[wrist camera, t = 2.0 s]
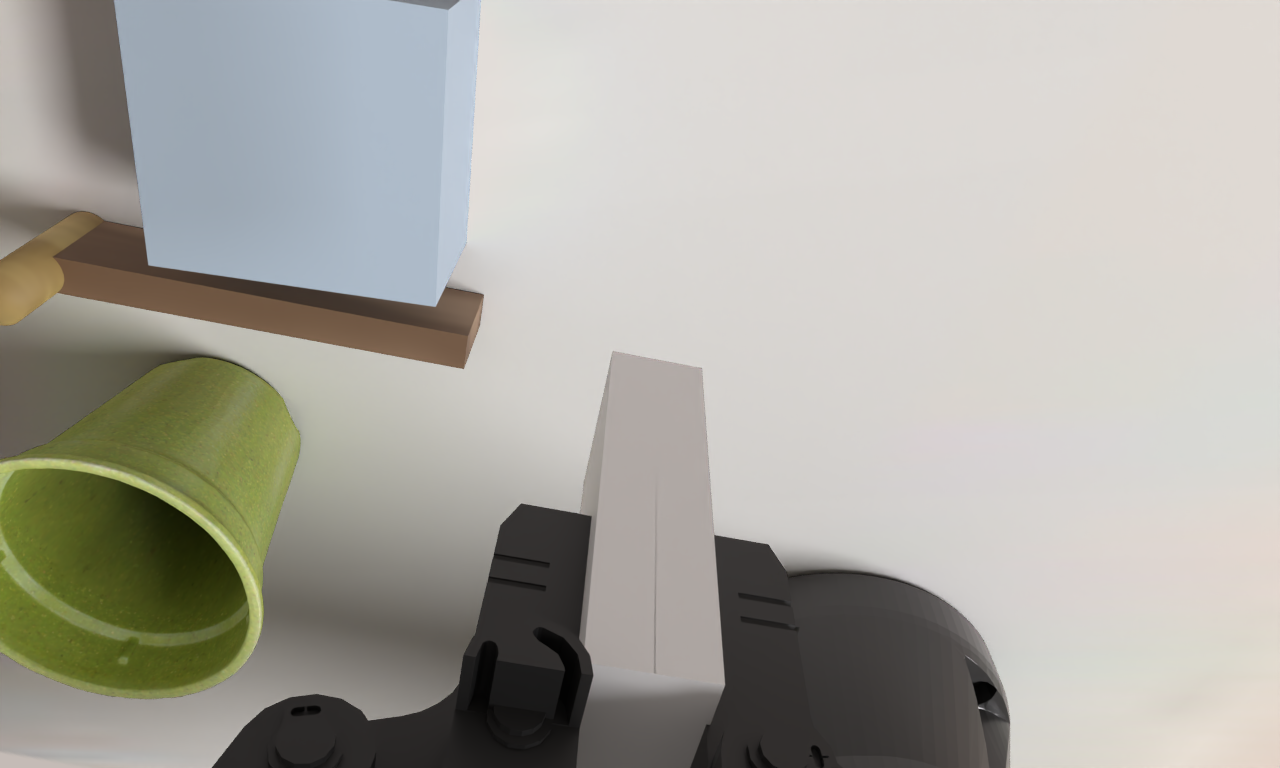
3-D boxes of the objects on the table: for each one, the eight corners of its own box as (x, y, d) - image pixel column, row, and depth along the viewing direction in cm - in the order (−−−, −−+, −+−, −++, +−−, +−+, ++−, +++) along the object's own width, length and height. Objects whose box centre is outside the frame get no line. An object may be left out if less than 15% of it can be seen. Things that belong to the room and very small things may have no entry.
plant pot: (297, 559, 37) (207, 739, 30) (62, 462, 35) (-99, 630, 28) (385, 390, 33) (305, 550, 26) (124, 267, 31) (-46, 403, 24)
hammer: (479, 330, 32) (450, 407, 28) (67, 251, 31) (-30, 319, 26) (538, -112, 25) (512, -101, 21) (9, -236, 24) (-135, -252, 19)
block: (467, 240, 31) (435, 306, 26) (221, 204, 30) (148, 265, 26) (483, -18, 26) (448, 9, 22) (199, -66, 26) (108, -46, 22)
